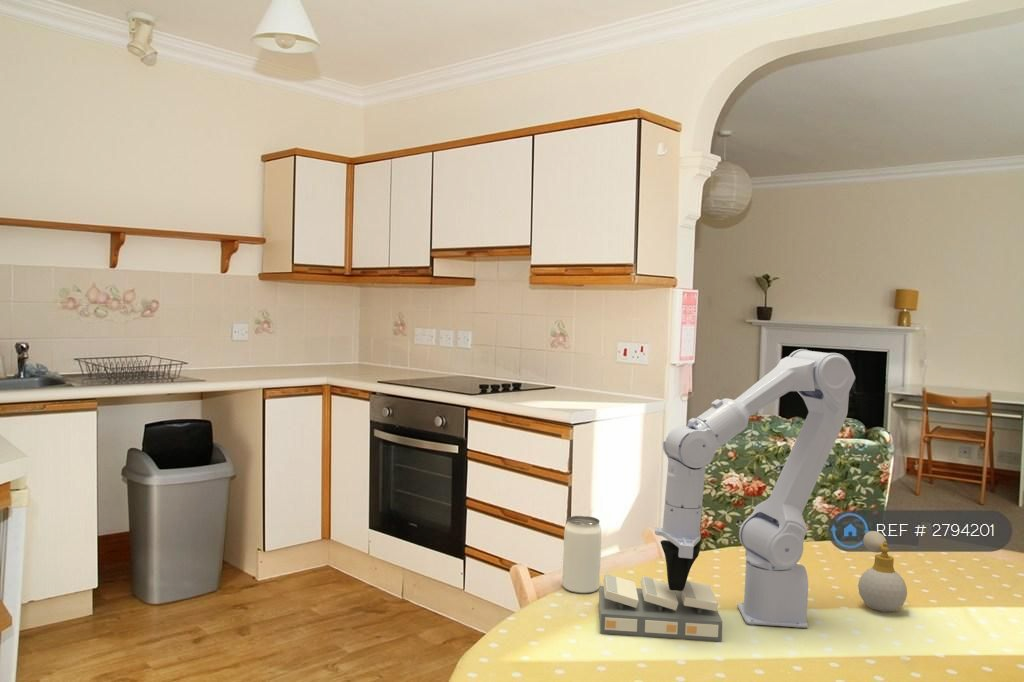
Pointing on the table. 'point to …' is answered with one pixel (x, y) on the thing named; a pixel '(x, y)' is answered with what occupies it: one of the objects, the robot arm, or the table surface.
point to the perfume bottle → (881, 578)
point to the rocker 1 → (620, 590)
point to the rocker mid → (658, 593)
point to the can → (582, 554)
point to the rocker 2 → (699, 596)
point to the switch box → (658, 619)
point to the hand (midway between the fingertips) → (675, 589)
